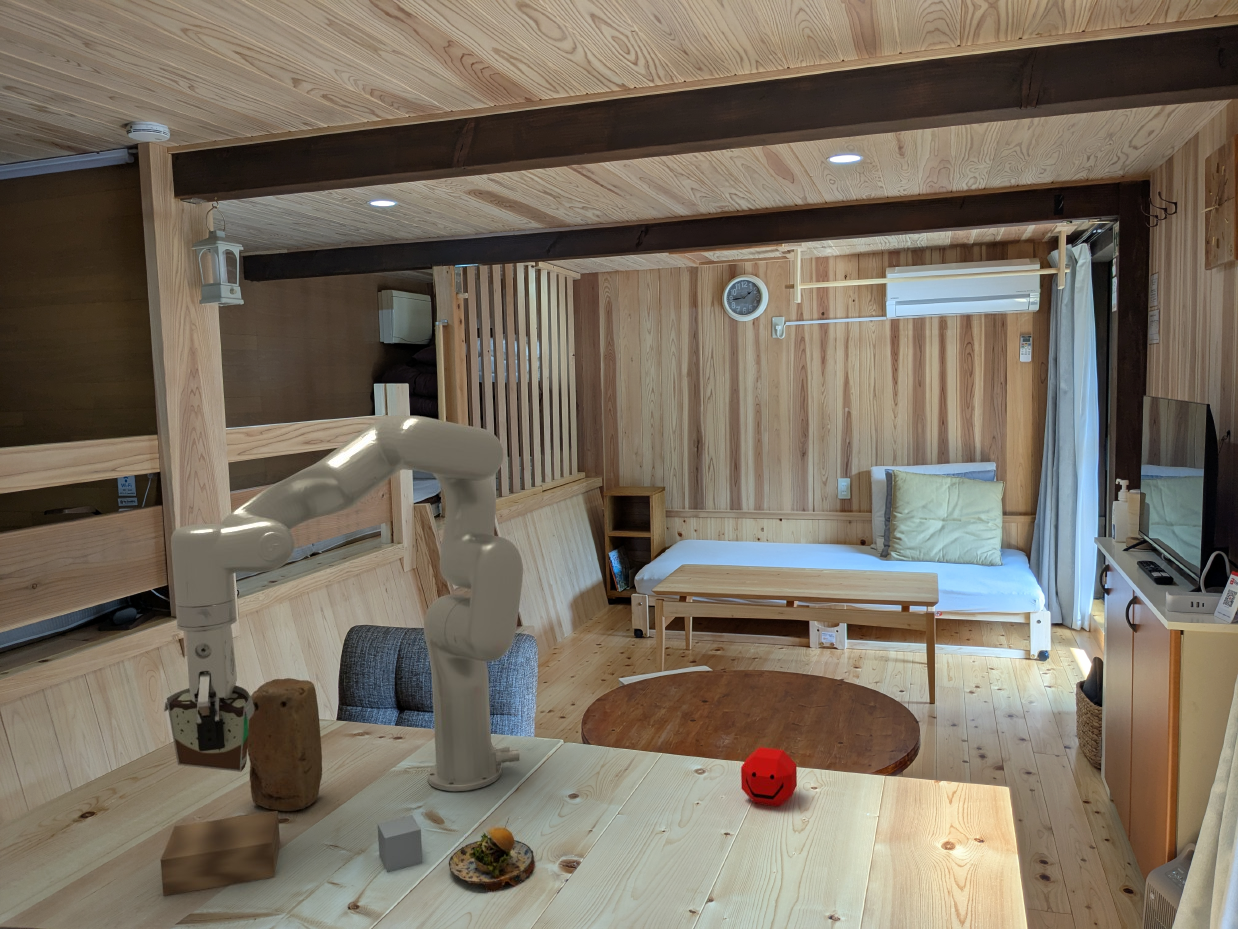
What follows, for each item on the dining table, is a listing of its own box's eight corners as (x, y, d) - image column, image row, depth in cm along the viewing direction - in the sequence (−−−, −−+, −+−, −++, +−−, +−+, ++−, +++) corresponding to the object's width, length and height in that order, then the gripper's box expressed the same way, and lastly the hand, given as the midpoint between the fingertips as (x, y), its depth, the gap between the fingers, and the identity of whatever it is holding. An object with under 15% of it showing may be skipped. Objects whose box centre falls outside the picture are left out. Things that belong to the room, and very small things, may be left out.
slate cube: (413, 848, 133) (412, 815, 132) (422, 863, 128) (420, 829, 128) (379, 856, 131) (377, 823, 130) (386, 872, 126) (384, 838, 126)
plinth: (280, 843, 135) (277, 810, 135) (274, 877, 126) (272, 842, 125) (177, 859, 131) (174, 826, 131) (163, 896, 122) (160, 860, 121)
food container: (273, 750, 131) (270, 686, 129) (251, 773, 125) (248, 705, 123) (193, 742, 132) (189, 678, 130) (167, 764, 126) (163, 697, 124)
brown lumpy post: (328, 795, 151) (321, 677, 149) (303, 816, 144) (295, 693, 142) (270, 791, 153) (262, 675, 152) (243, 811, 146) (234, 690, 145)
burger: (458, 849, 132) (456, 800, 132) (539, 848, 132) (537, 799, 131) (439, 895, 120) (437, 841, 120) (528, 894, 120) (526, 840, 119)
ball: (738, 807, 142) (737, 760, 141) (750, 786, 149) (749, 740, 149) (789, 814, 139) (788, 766, 138) (799, 792, 146) (798, 746, 146)
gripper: (227, 626, 118) (237, 759, 120) (243, 598, 135) (251, 715, 136) (164, 632, 116) (174, 768, 118) (188, 603, 133) (196, 722, 134)
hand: (215, 738), depth 127 cm, fingers closed on food container, 6 cm apart
